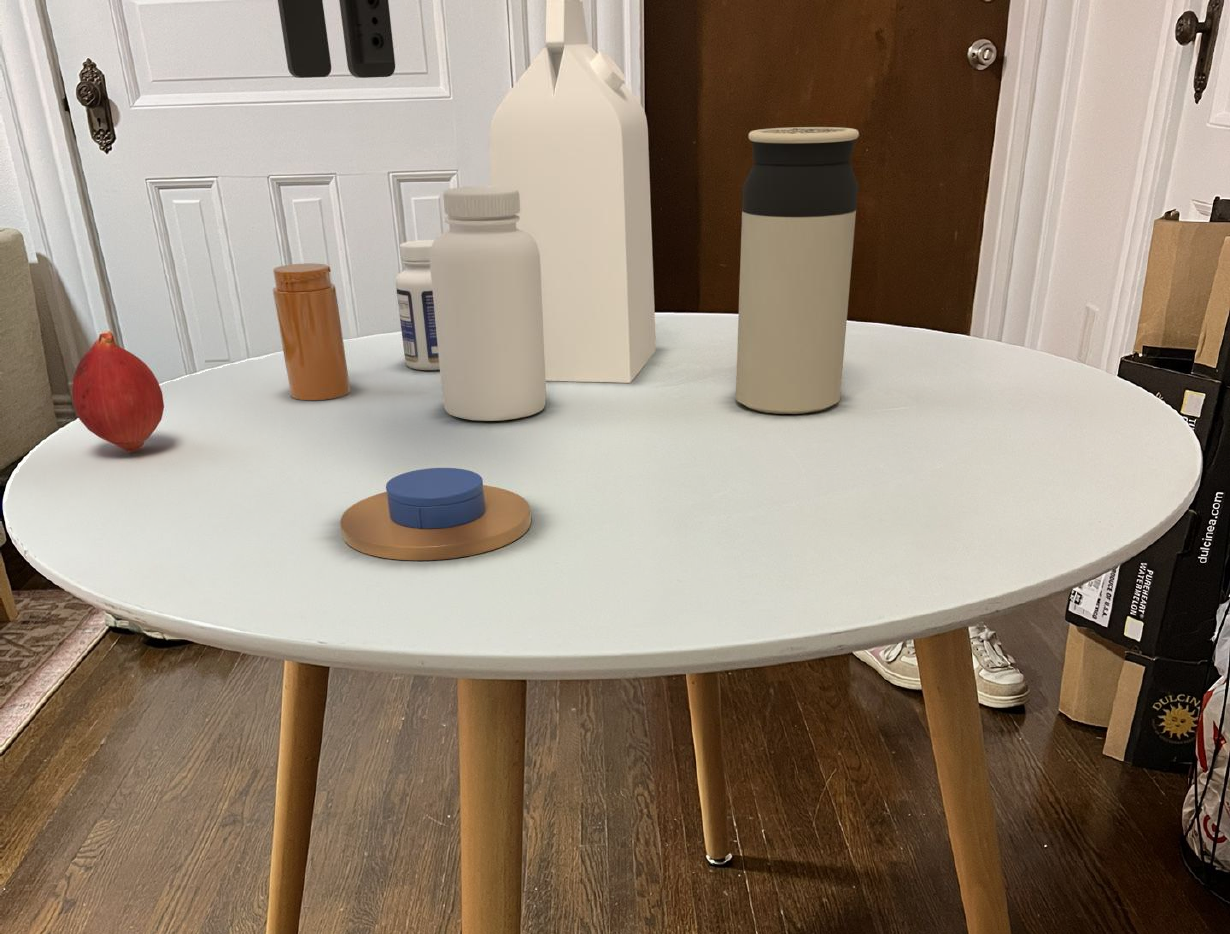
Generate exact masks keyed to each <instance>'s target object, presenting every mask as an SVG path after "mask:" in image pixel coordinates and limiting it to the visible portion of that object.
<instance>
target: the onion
mask: <svg viewBox="0 0 1230 934" xmlns="http://www.w3.org/2000/svg"><path fill="white" fill-rule="evenodd" d="M71 396H72V403H73V408H74V410H75V412H76V415H77V418H78V420H79V421H81V423H82V424H83V425H84V427H86V429H87V430H88V431H89V432H90V433H92V434H94V435H96V437H98V438H99V439H102V440H104V441H105V442H108V443H109V444H112V445H114V446H116V447H118V448H120V449H122V450H124V451H126V452H129V453H133V452H138V451H140V450H141V448H142V447H143V446H144V444H145V443H146V441H147V440H148V439H149V438H150V437H151V435H152V434H153V432H155V431H156V429H157V427H158V426H159V425H160V423H161V421H162V419H163V415H164V409H165V403H164V402H165V401H164V395H163V390H162V388H161V386H160V383H159V381H158V379H157V377H156V375H155V374H154V372H153V371H152V369H150V367H149V366H148V365H147V364H146V363H145V362H144V361H143V360H142V359H141V358H139V357H138V356H136V355H135V354H133V353H132V352H130V351H129V350H127V349H125V348H123V347H121V346H119V345H117V343H116V340H115V336H114V334H113V333H112V331H111V330H107V331H106V330H104V331H102V332H100V333H99V335H98V338H97V339H96V340H95V342H94V343H93V344H92V346H91V347H90V348H89V349H88V350H87V351H86V353H84V355H83V356H82V357H81V359H80V361H79V362H78V363H77V366H76V368H75V370H74V374H73V377H72V388H71Z"/></svg>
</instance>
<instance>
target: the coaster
mask: <svg viewBox="0 0 1230 934" xmlns="http://www.w3.org/2000/svg"><path fill="white" fill-rule="evenodd" d="M483 489H484V501H485V512H484V514H483V515H482V516H481V517H480V518H478V519H476V520H474V521H472V522H469V523H467V524H463V525H459V526H454V527H449V528H440V529H418V528H410V527H405V526H402V525H399V524H397V523H395V522H393V521H392V520H391V518H390V514H389V506H388V499H387V492H386V491H384V492H380V493H377V494H374V495H372V496H368V497H366V498H364V499H362V500H360V501H358V502H356V503H354V504H352V505H351V506H349V507H348V508H347V509H346V510H345V511H344V512H343V513H342V515H341V517H340V521H339V523H340V529H341V536H342V538H343V541H344V542H345V543H346V544H347V545H348V546H349V547H351V548H352V549H354V550H356V551H358V552H360V553H363V554H366V555H369V556H373V557H377V558H383V559H391V560H400V561H438V560H439V561H441V560H448V559H449V560H450V559H458V558H463V557H464V558H465V557H469V556H474V555H478V554H479V555H480V554H483V553H486V552H491V551H493V550H496V549H500V548H502V547H504V546H507V545H509V544H512V543H513V542H514V541H516V540H518V539H520V538H521V537H522V536H524V535H525V534H526V533H527V532H528V530H529V529H530V527H531V524H532V514H531V506H530V504H529V502H528V501H527V500H526V499H525V497H523V496H521V495H519V494H518V493H516V492H514V491H511V490H508V489H505V488H501V487H498V486H497V487H496V486H492V485H484V484H483Z"/></svg>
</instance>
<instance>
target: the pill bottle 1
mask: <svg viewBox="0 0 1230 934" xmlns="http://www.w3.org/2000/svg"><path fill="white" fill-rule="evenodd" d="M434 241H435V239H420V240H410V241H404V242H402V243H400V244H399V252H400V253H399V254H400V259H401V263H402V264H404V269H403V270H402V271H401V272H399V273H398V274H397V276H396V277H395V289H396V297H397V305H398V314H399V322H400V329H401V338H402V345H403V346H402V348H403V355H404V361H405V364H406V366H407V367H408V368H410V369H412V370H416V371H440V365H439V354H438V344H437V333H436V322H435V311H434V301H433V290H432V279H431V268H430V250H431V246H432V244H433V242H434Z"/></svg>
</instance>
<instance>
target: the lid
mask: <svg viewBox="0 0 1230 934" xmlns="http://www.w3.org/2000/svg"><path fill="white" fill-rule="evenodd" d="M483 485H484V480H483V477H482V476H481V474H479V473H477V472H474V471H472V470H468V469H464V468H456V467H430V468H429V467H428V468H421V469H416V470H410V471H406V472H403V473H400V474H398V475H396V476H394V477H392V478H390V480H388V481H387V482H386V485H385V492H387V499H388V506H389V514H390V518H391V520H392V521H393V522H395V523H397V524H399V525H402V526H405V527H410V528H418V529H440V528H449V527H454V526H459V525H463V524H467V523H469V522H472V521H474V520H476V519H478V518H480V517H481V516H482V515H483V514H484V512H485V501H484V489H483Z"/></svg>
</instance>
